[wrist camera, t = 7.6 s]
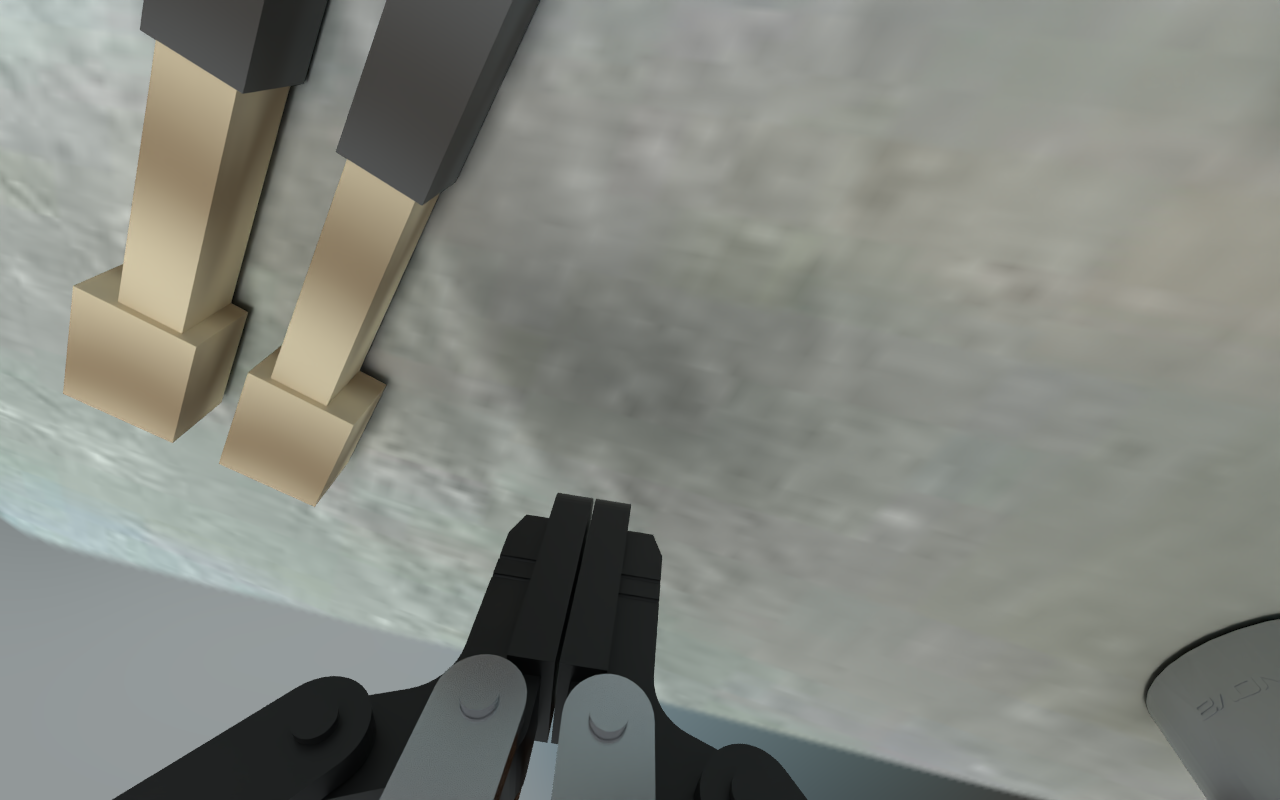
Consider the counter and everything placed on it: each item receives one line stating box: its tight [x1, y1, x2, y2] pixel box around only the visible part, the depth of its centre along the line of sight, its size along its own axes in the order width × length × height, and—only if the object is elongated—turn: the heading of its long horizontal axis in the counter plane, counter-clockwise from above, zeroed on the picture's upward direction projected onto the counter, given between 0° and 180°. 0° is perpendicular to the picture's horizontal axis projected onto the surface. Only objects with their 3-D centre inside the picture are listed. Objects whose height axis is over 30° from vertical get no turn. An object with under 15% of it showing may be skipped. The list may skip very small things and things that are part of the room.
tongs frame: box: [63, 0, 327, 443], centre depth 12 cm, size 23×6×3 cm, turn 146°
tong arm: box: [219, 0, 540, 507], centre depth 15 cm, size 18×3×2 cm, turn 146°
